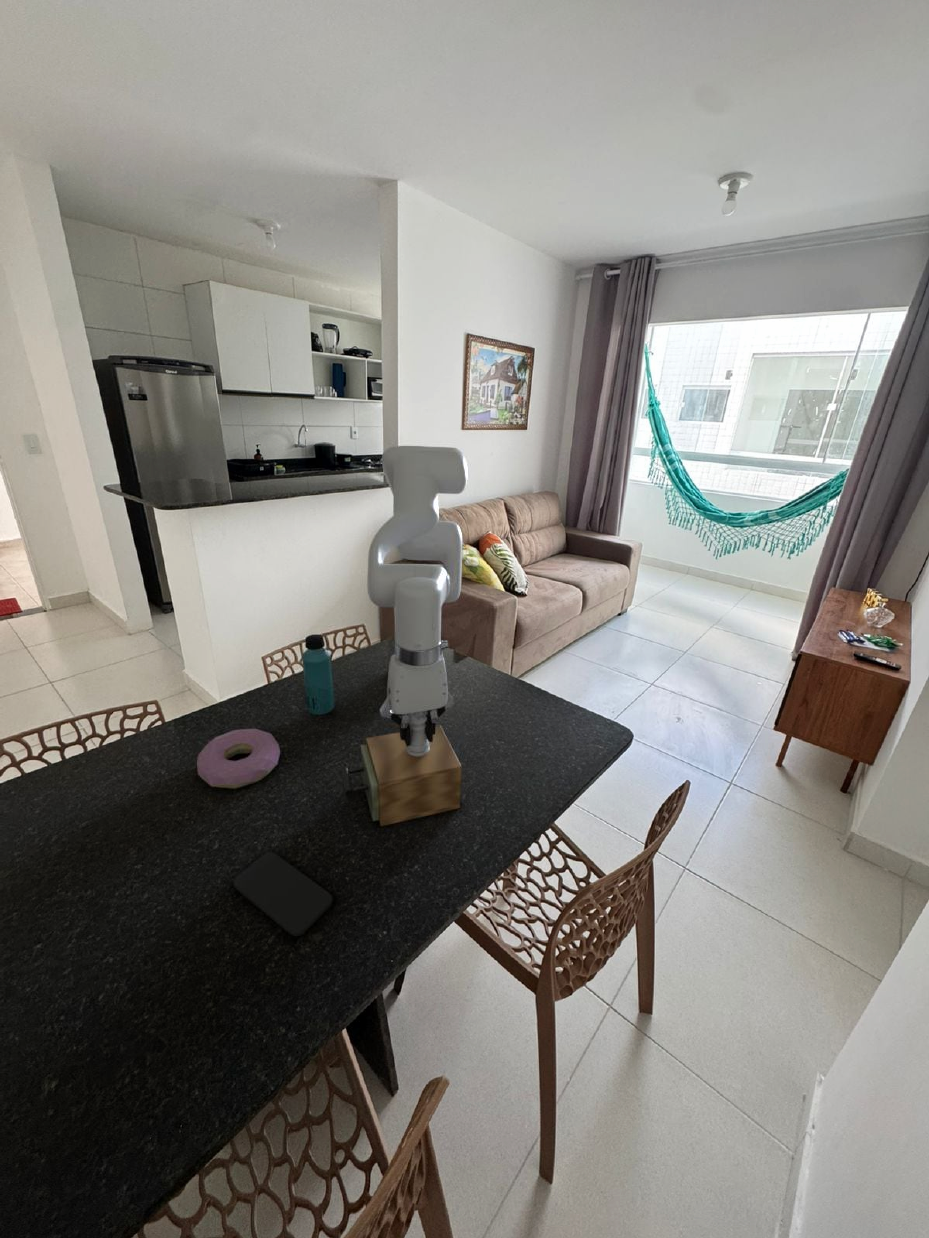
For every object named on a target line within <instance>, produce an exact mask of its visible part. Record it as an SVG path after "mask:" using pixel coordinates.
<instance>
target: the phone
mask: <svg viewBox="0 0 929 1238" xmlns="http://www.w3.org/2000/svg"><path fill="white" fill-rule="evenodd" d="M232 883H233V887H234V889H235V890H236V891H237V892H239V893H240V894H241V895H242V896H243V897H245V898H246V899H247V900H249V902H250V903H252V904H253V905H254V906H256V907H257V908H258V909H259V910H260V911H262V912H263V913H264V914H265V915H267V916H268V917H269V918H270V919H271V920H273V921H274V922H275V923H276V924H277V925H278V926H279V927H281V928H282V929H283V930H285V931H286V932H287V933H288V934H289V935H291V936H292V937H300V936H302V935H303V934H304V933H305V932H306V931H308V929H309V928H310V927H311V926H312V925H313V924H315V922H316V921H318V920H319V918H320V917H322V915H323V914H325V912H326V911H327V910H328V909H329V908H330V907H331V906H332V904H333V895H332V894H331V893H330V892H328V890H326V889H325V888H323V887H322V886H321V885H320V884H318V883H316V882H315V881H313V880H312V879H311V878H309V877H308V876H307V875H305V874H304V873H303V872H301V871H300V870H299V869H297V867H296V868H295V866H293V865H291V864H290V863H289V862H288V861H287V860H285V859H284V858H283V857H280V856H279V855H278V854H277V853H275V852H272V851H269V852H266V853H264V854H263V855H261V856H260V857H259V858H258V859H256V860H255V861H254V862H252V863H251V864H250V865H249V866H247V868H245V869H244V870H243V871H241V872H240V873H239V874H237V876H235V877H234V879H233V882H232Z"/></svg>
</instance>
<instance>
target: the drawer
mask: <svg viewBox="0 0 929 1238" xmlns="http://www.w3.org/2000/svg"><path fill="white" fill-rule="evenodd" d="M360 761H361V762H360V763H361V766H360V767H355V768H350V769H349V768H347V767H343V768H341V769H340V776H341V780H342V785H343V791H344V795H345V796H346V797H351V796H352V795H353V794H355V793H357V792H363V791H365V795H366V798H367V799H366V800H367V804H368V807H369V811H370V815H371V819H372V821H373V822H376V821H379V820H380V816H379V787H378V782H377V777H376V775H375V771H374V768H373V764H372V761H371V757H370V754H369V750H368V747H367V744H366V743H365V744H360ZM357 773H361V780H362V783H363V785H361V786H355V787H353V785H352V780H351V776H350V775H352V774H357Z"/></svg>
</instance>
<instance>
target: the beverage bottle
mask: <svg viewBox="0 0 929 1238" xmlns="http://www.w3.org/2000/svg"><path fill="white" fill-rule="evenodd" d="M304 640H305V642H304V646H305V649H306V650H305V651H304V652H302V655H301V661H302V676H303V681H304V692H305V693H304V695H305V696H304V697H305V704H306V708H307V710H308V712H309V713H310V714H311V715H312V714H313V715H317V716H319V715H325V714H328V713H330V712H332V711H333V710H334V707H335V700H336V699H335V694H334V693H335V692H334V691H335V690H334V683H333V680H334V679H333V676H332V674H333V673H332V663H331V652H330V651H329V650H328V649H326V648H325V639H324V636H323V635H322V634H309V635H307V636H305V639H304Z"/></svg>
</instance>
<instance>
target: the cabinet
mask: <svg viewBox="0 0 929 1238" xmlns="http://www.w3.org/2000/svg"><path fill="white" fill-rule="evenodd" d="M424 731H425V728H424ZM425 736H426V735H425ZM365 740H366V741H365V742H366V743H365V744H367V747H368V750H369V754H370V757H371V761H372V764H373V768H374V771H375V775H376V777H377V782H378V787H379V816H380V820H378V822H379V826H380V827H383V826H388V825H392V824H397V823H402V822H405V821H409V820H410V821H411V820H414V819H418V818H423V817H426V816H431V815H436V814H439V813H444V812H448V811H453V810H456V809H460V805H461V788H462V787H461V786H462V785H461V783H462V764H461V763H460V761H459V759H458V757H457V754H456V753H455V751H454V749H453V747H452V745H451V743H450V740H449V739H448V737H447V735H446V734H445V732H444V729H443V728H442V725H440V724H439V725H435V734H434V735H433V742H429V747H430V749H429V752H428V753H427V754H426V755H424V756H422V757H413V756H411V755H409V754H408V753H407V752H406V744H405V741H404V740H401V738H400V731H399V732H395V733H394V732H393V733H389V734H382V735H377V736H371V737H366V738H365ZM427 740H428V739H427Z"/></svg>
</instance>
